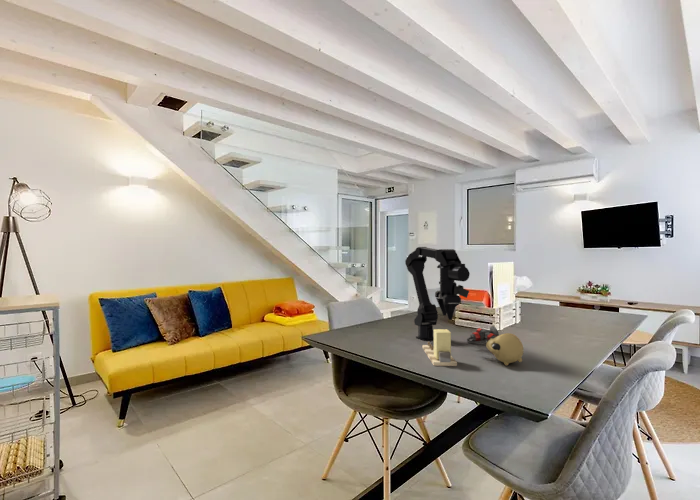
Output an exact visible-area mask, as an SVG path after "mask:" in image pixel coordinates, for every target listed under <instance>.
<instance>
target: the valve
mask: <svg viewBox="0 0 700 500" xmlns="http://www.w3.org/2000/svg"><path fill="white" fill-rule="evenodd" d="M499 335H500V333H499V330H498V329H497V327H495V326H491V327H490V328H489V329H483V328H480V327H479V328H476V329H475V331H474V332H472V333H471V334H470V335H469V337H467V339H466V342H468V343H469V344H475V345H476V344H477V345H478V344H483V343H485V344H486V341H487V340H488V339H491V338H492V339H494V338H495V337H497V336H499Z"/></svg>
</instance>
